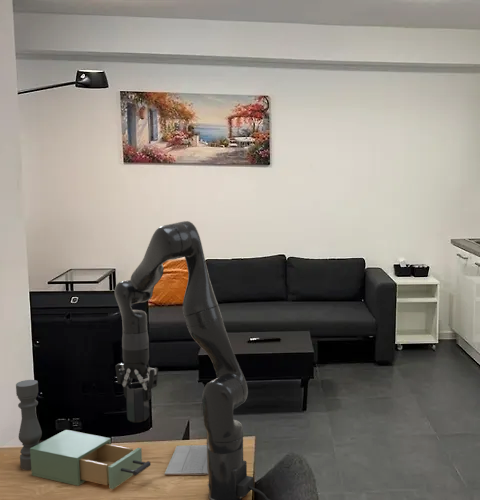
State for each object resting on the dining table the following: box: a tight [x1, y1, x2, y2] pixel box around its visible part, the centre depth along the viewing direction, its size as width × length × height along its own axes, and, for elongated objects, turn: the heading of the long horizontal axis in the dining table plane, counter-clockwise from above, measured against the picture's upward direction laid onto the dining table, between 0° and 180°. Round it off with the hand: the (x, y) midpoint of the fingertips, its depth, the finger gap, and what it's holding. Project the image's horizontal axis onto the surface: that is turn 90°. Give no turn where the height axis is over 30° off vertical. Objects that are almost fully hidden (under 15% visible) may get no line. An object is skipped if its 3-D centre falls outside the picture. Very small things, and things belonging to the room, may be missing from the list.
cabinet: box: [30, 429, 112, 487], centre depth 187 cm, size 17×14×8 cm
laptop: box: [164, 433, 208, 476], centre depth 193 cm, size 18×12×13 cm
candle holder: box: [15, 379, 43, 471], centre depth 188 cm, size 6×6×25 cm
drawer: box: [79, 443, 152, 490], centre depth 182 cm, size 21×12×6 cm, turn 70°
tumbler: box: [125, 381, 150, 423], centre depth 196 cm, size 6×6×10 cm
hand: (137, 399), depth 196 cm, fingers closed on tumbler, 6 cm apart
